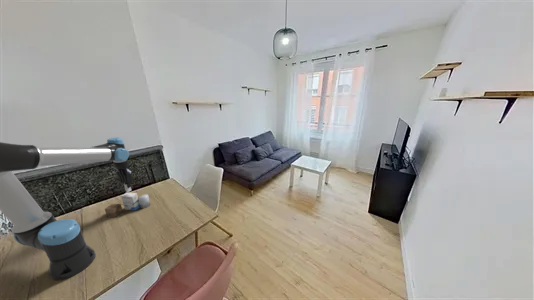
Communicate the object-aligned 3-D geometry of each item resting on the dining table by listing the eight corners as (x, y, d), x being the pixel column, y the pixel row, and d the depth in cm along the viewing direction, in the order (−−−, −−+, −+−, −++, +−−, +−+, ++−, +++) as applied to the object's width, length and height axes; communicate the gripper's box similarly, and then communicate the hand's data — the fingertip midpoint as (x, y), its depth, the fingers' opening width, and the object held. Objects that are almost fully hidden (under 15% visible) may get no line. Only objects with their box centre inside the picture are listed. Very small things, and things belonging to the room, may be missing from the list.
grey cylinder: (145, 208, 125) (142, 199, 122) (138, 207, 126) (136, 198, 124) (152, 204, 130) (150, 195, 128) (146, 202, 132) (144, 193, 129)
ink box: (140, 206, 127) (137, 192, 124) (135, 210, 123) (131, 196, 119) (130, 205, 128) (126, 191, 124) (124, 209, 123) (120, 195, 120)
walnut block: (115, 216, 117) (113, 209, 115) (106, 216, 117) (104, 209, 115) (122, 210, 122) (120, 203, 120) (114, 210, 122) (112, 203, 120)
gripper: (133, 159, 115) (141, 190, 123) (119, 157, 118) (127, 187, 126) (122, 164, 108) (130, 195, 116) (107, 161, 112) (116, 192, 119)
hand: (128, 191), depth 121 cm, fingers closed
